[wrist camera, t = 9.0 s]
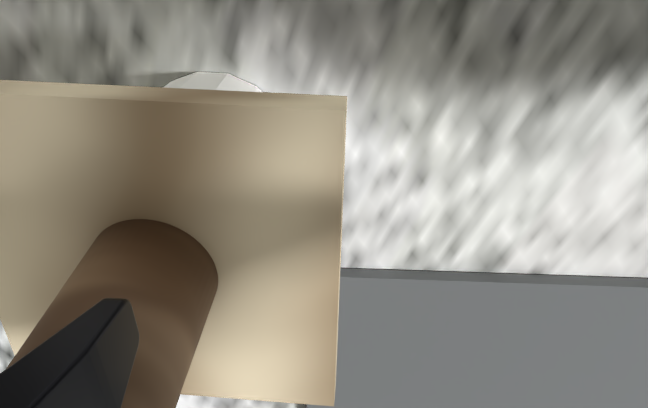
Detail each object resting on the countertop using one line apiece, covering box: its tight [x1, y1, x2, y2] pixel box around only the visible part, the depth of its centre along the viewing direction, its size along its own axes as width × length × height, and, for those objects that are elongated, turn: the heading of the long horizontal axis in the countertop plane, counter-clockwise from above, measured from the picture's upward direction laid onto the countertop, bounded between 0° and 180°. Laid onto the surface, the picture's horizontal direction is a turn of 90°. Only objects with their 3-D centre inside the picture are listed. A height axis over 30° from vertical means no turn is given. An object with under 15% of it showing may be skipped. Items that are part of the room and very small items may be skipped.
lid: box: [0, 80, 347, 408], centre depth 14 cm, size 10×10×6 cm
